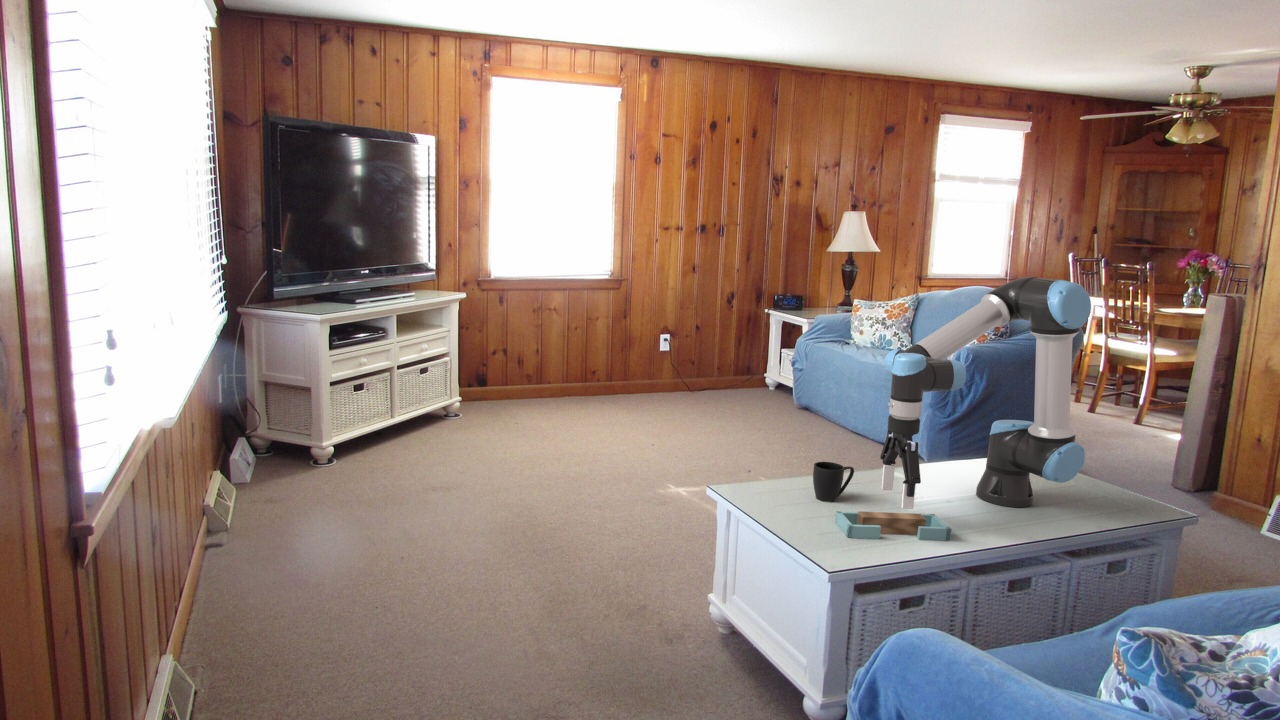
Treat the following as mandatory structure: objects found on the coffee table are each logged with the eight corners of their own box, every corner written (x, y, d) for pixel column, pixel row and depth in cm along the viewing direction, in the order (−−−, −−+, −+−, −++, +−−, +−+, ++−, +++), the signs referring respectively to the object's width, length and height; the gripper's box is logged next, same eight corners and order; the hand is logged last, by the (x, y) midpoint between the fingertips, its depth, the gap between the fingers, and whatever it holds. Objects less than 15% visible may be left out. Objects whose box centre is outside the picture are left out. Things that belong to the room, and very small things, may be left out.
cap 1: (847, 537, 210) (849, 526, 209) (834, 522, 220) (836, 511, 219) (879, 538, 210) (880, 527, 210) (865, 523, 221) (866, 512, 220)
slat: (918, 530, 218) (920, 513, 218) (924, 536, 214) (926, 519, 214) (856, 528, 217) (858, 511, 217) (861, 534, 214) (863, 517, 213)
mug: (858, 502, 237) (862, 469, 235) (820, 504, 233) (823, 470, 231) (843, 492, 244) (846, 460, 243) (805, 494, 241) (808, 462, 239)
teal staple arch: (932, 525, 222) (934, 513, 222) (950, 540, 212) (951, 528, 211) (902, 524, 221) (904, 513, 221) (918, 539, 211) (920, 528, 211)
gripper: (872, 404, 223) (865, 482, 227) (909, 429, 198) (901, 516, 202) (900, 404, 223) (892, 482, 227) (940, 429, 199) (931, 516, 203)
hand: (896, 498), depth 215 cm, fingers open, 13 cm apart
